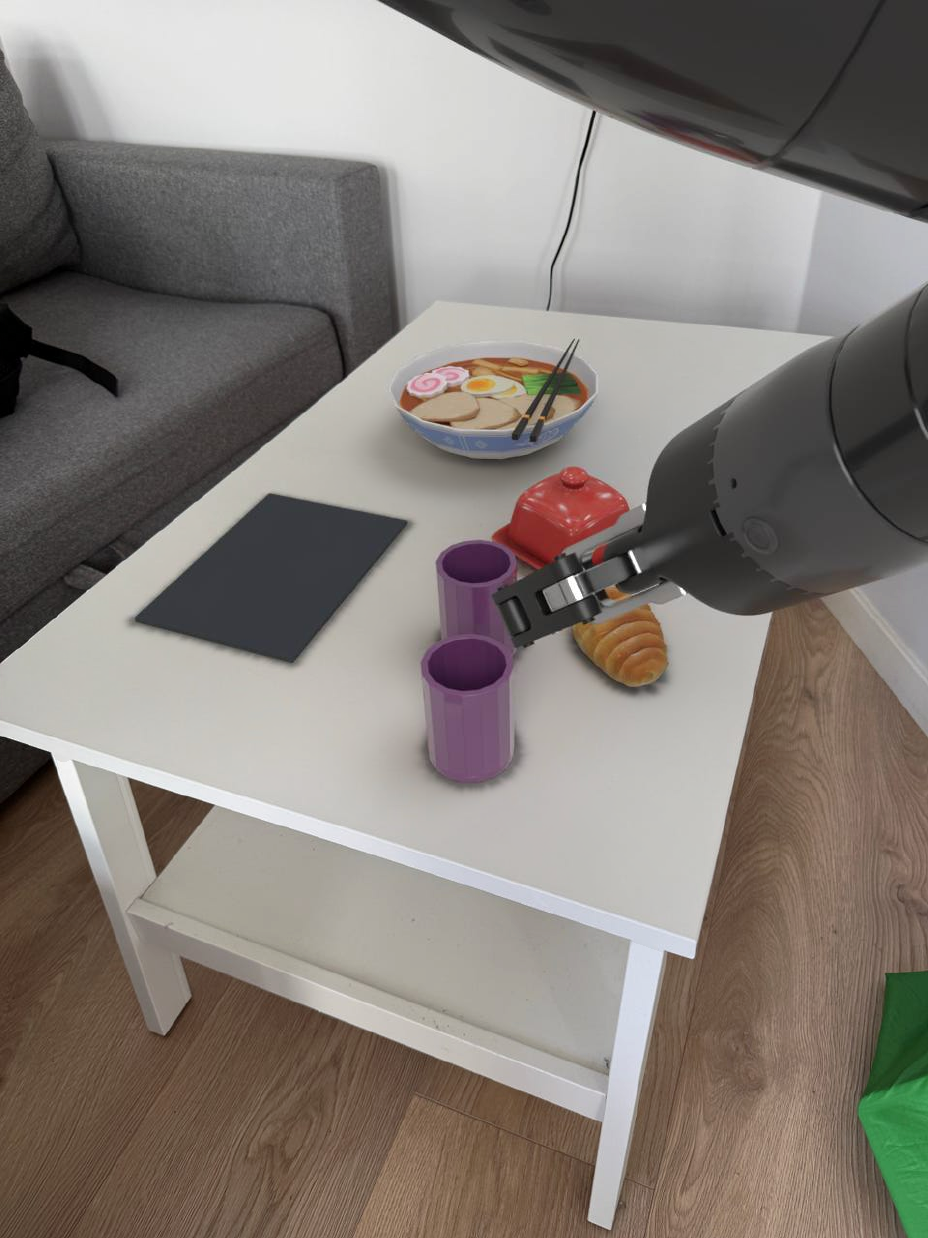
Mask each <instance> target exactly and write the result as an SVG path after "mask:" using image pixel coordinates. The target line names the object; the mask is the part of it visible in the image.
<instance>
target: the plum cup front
mask: <svg viewBox="0 0 928 1238" xmlns="http://www.w3.org/2000/svg"><path fill="white" fill-rule="evenodd" d="M420 675H421V685H422V694H423V705H424V714H425V717H424V718H425V727H426V728H425V729H426V735H427V736H426V737H427V749H428V756H429V761H430V762H431V764H432V766H433V767H434V769H435V770H436V771H437V772H438V773H440V774H441V775H442V776H443V777H445V778H447V779H450V780H453V781H456V782H461V783H480V782H481V783H482V782H484V781H488V780H491V779H493V778H495V777H498V776H499V775H500V774H501V773H503V772H504V771H505V770H507V768H508V767H509V766H510V764H511V762H512V760H513V757H514V752H515V745H516V743H515V664H514V659H513V657H512V654H511V653H510V651H509V650H508V649H507V648H506V647H505V646H504V645H503V644H502V643H500V642H498V641H496V640H494V639H492V638H490V637H488V636H482V635H476V634H463V635H455V636H451V637H448V638H445V639H443V640H441V639H440V640H438V641H436V642H435V643H433V645H431V646H430V647H429V648H428V649H426V651H425V653H424V655H423V657H422V659H421V660H420Z"/></svg>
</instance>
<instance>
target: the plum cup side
mask: <svg viewBox="0 0 928 1238" xmlns="http://www.w3.org/2000/svg"><path fill="white" fill-rule="evenodd" d="M516 557H517V556H515V554H514V553H513V552H512V551H511V550H510V549H509V548H508V547H506V546H503V545H501V544H499V543H496V542H494V541H493V540H492V541H491V540H486V539H472V540H463V541H460V542H457V543H454V544H451V545H449V546H448V547H447V548H445V549H444V550H442V551H441V552H440V553H439V555H438V557H437V558H436V560H435V573H436V587H437V599H438V614H439V615H438V616H439V627H440V640H443V639H445V638H448V637H451V636H455V635H463V634H476V635H482V636H488V637H490V638H492V639H494V640H496V641H498V642H500V643H502V644H503V645H504V646H505V647H506V648H507V649H508V650H509V651H510V653H511V654H512V658H513V657H514V656H515V654H516V652H517V649H518V647H517V648H515V649H514V646H513V644H512V642H511V640H510V638H512V637H513V636H512V637H509V636H508V633H507V631H506V629H505V627H504V624H503V622H502V620H501V618H500V615H499V613H498V611H497V606H498V605H499V604H498V605H495V604H494V602H493V600H492V597H491V595H492V594H494V593H496V592H498V590H497V588H499V587H501V586H504V585H506V584H508V585H511V584H513V583H515V582H516V581H518V561H517V558H516Z"/></svg>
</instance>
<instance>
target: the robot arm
mask: <svg viewBox="0 0 928 1238" xmlns="http://www.w3.org/2000/svg"><path fill="white" fill-rule="evenodd" d="M375 1H376V2H378V3H380V4H382V5H384V6H385V7H388V8H390V9H391V10H394V11H396V12H398V13H399V14H401V15H404V16H405V17H407V18H410V19H411V20H413V21H415V22H417V23H419V24H421V25H423V26H424V27H426V28H428V29H430V30H432V31H433V32H436V33H437V34H439V35H441V36H443V37H444V38H445V39H448V40H450V41H452V42H454V43H455V44H457V45H459V46H461V47H464V48H465V49H466V50H468V51H470V52H472V53H474V54H476V55H478V56H480V57H482V58H484V59H486V60H487V61H490V62H492V63H493V64H495V65H497V66H499V67H500V68H503V69H505V70H507V71H509V72H511V73H513V74H514V75H516V76H518V77H520V78H523V79H524V80H526V81H529V82H531V83H533V84H535V85H537V86H539V87H542V88H544V89H545V90H548V91H550V92H552V93H554V94H556V95H558V96H561V97H563V98H565V99H567V100H569V101H572V102H574V103H576V104H578V105H580V106H583V107H585V108H587V109H590V110H592V111H594V112H596V113H597V114H601V115H603V116H606V117H608V118H610V119H613V120H615V121H618V122H620V123H622V124H625V125H627V126H630V127H631V128H635V129H636V130H637V129H638V130H640V131H642V132H645V133H647V134H650V135H652V136H655V137H658V138H661V139H663V140H666V141H669V142H672V143H674V144H677V145H680V146H683V147H685V148H688V149H691V150H693V151H696V152H699V153H703V154H704V155H708V156H711V157H714V158H718V159H720V160H724V161H727V162H730V163H733V164H736V165H739V166H742V167H746V168H749V169H752V170H755V171H758V172H761V173H764V174H767V175H771V176H774V177H777V178H780V179H782V180H786V181H790V182H792V183H796V184H799V185H802V186H805V187H807V188H808V187H809V188H810V189H815V190H818V191H820V192H824V193H827V194H830V195H833V196H837V197H840V198H843V199H846V200H849V201H853V202H855V203H858V204H862V205H865V206H868V207H872V208H875V209H877V210H881V211H884V212H888V213H893V214H895V215H899V216H902V217H905V218H908V219H911V220H913V221H918V222H920V223H924V224H927V225H928V0H375ZM629 510H630V511H628V512H625V513H623V514H622V515H621V516H620V517H619V518H618V520H617V522H616V524H615V525H613V526H611V527H609V528H607V529H605V530H603V531H601V532H599V533H596V534H594V535H592V536H590V537H588V538H586V539H584V540H582V541H580V542H578V543H576V544H574V545H572V546H570V547H567V548H566V549H565V550H564V551H563V552H562V554H560V555H558V556H556V557H554V558H553V560H554V562H552V563H550V564H548V565H546V566H544V567H542V568H540V569H539V570H538V569H536V570H535V571H533V572H531V573H529V574H527V575H526V576H524V577H522V578H520V579H517V581H516V582H515V583H513V584H511V585H508V584H506V585H504V586H501V587H499V588H497V590H498V592H496V593H494V594H492V595H491V597H492V600H493V602H494V604H495V605H498V604H499V605H498V606H497V611H498V613H499V615H500V618H501V620H502V622H503V624H504V627H505V629H506V631H507V633H508V636H509V637H512V636H513V637H512V638H510V640H511V642H512V644H513V646H514V649H515V648H517V649H518V648H520V647H522V648H523V649H526V648H528V647H531V646H533V645H535V641H537V640H540V639H543V638H545V637H547V636H551V635H552V636H553V635H556V634H557V633H560V632H562V631H563V630H566V629H568V628H570V627H572V626H573V625H575V624H578V623H580V622H582V624H583V625H585V624H588V623H590V622H591V623H593V624H601V623H603V622H606V621H608V620H610V619H613V618H615V617H617V616H620V615H622V614H625V613H627V612H629V611H632V610H634V609H636V608H639V607H641V606H643V605H646V604H648V605H649V604H655V605H664V604H667V603H669V602H671V601H674V600H677V599H680V598H681V597H684V596H687V595H690V596H692V597H693V598H694V599H696V600H697V601H698V602H699V603H702V604H704V606H707V607H709V608H711V609H713V610H715V611H719V612H722V613H725V614H729V615H734V616H741V617H749V616H750V617H751V616H753V617H755V616H761V615H765V614H769V613H773V612H776V611H779V610H784V609H786V608H791V607H794V606H796V605H800V604H804V603H807V602H810V601H813V600H817V599H821V598H824V597H827V596H830V595H835V594H838V593H841V592H845V591H848V590H851V589H854V588H859V587H862V586H865V585H868V584H872V583H876V582H879V581H882V580H885V579H889V578H893V577H895V576H898V575H902V574H904V573H907V572H910V571H913V570H916V569H919V568H920V567H922V566H924V565H928V280H926V281H925V282H923V283H922V284H920V285H919V286H917V287H916V288H914V289H912V290H911V291H910V292H908V293H906V294H905V295H903V296H902V297H900V298H899V299H897V300H896V301H894V302H892V303H891V304H890V305H888V306H886V307H885V308H883V309H882V310H880V311H879V312H877V313H876V314H874V315H872V316H871V317H870V318H868V319H866V320H864V321H863V322H861V323H859V324H858V325H856V326H854V327H853V328H851V329H849V330H847V331H845V332H842V333H840V334H838V335H835V336H833V337H830V338H828V339H826V340H824V341H821V342H820V343H818V344H816V345H813V346H812V347H811V346H810V347H809V348H807V349H806V350H803V351H802V352H801V353H799V354H797V355H795V356H794V357H791V358H790V359H789V360H787V361H786V362H785V363H783V364H782V365H780V366H779V367H776V368H775V369H774V370H773V371H770V372H769V373H768V374H766V375H765V376H763V377H762V378H760V379H759V380H757V381H755V382H754V383H752V384H751V385H749V386H748V387H747V388H745V389H743V390H742V391H740V392H738V393H737V394H736V395H735V396H733V397H731V398H730V399H729V400H727V401H726V402H724V403H722V404H721V405H719V406H718V407H716V408H714V409H713V410H712V411H710V412H709V413H707V414H706V415H704V416H703V417H701V418H700V419H698V420H696V421H695V422H694V423H692V424H690V425H688V426H687V427H686V428H684V429H683V430H681V431H680V432H679V433H677V434H676V435H675V436H674V437H672V438H671V439H670V441H668V443H667V444H666V445H665V446H664V448H663V449H662V450H661V451H660V453H659V455H658V456H657V458H656V461H655V463H654V464H653V467H652V470H651V472H650V475H649V480H648V485H647V490H646V502H644V503H642V504H639V505H638V506H636V507H633V508H632V509H629ZM609 542H610V543H609ZM607 543H608V544H607ZM605 544H607V546H606V547H605V549H604V552H603V560H604V562H603V563H601V564H599V565H596V566H594V565H593V562H592V555H593V552H594V551H595V550H596V549H597V548H599V547H601V546H603V545H605ZM613 586H614V587H616V588H617V589H618V590H619V591H620V592H622V593H624V594H631V595H633V596H631V597H628V598H626V599H624V600H621V601H614V600H612V599H610V598H609V597H608V595H607V593H606V591H605V588H609V587H613Z"/></svg>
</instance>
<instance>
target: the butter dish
mask: <svg viewBox="0 0 928 1238" xmlns="http://www.w3.org/2000/svg"><path fill="white" fill-rule="evenodd" d="M630 510H631V509H630V505H629V503H628V501H627V499H626V497H624V496H623V495H622V493H620V492H619V491H618V490H617V489H616V488H614V487H612V486H611V485H609V484H608V483H606V482H604V481H603V480H600V479H599V478H596V477H595V476H592V475H590V474H589V473H588V472H587V471H586V470H585V469H583V468H582V467H579V466H567V467H565V468H563V469H562V470H561V471H560V472H559V473H556V474H553V475H550V476H548V477H545V478H543V479H542V480H540V481H538V482H536V483H535V484H532V486H530V487H529V488H527V489H526V490H525V491H524V492H523V493H522V494H520V495H519V497H518V499H517V501H516V503H515V505H514V508H513V512H512V515H511V516H512V517H511V518H510V522H509V523H507V524H505V525H504V526H502V527H501V528H499V529H498V530H496V531H495V532H493V534H492V535H491V540H492V542H496V543H499V544H501V545H503V546H506V547H508V548H509V549H510V550H511V551H512V552H513V553H514V554H515V557H517V558H519V559H520V560H521V561H523V562H525V563H527V564H528V565H530V566H531V567H533V568H534V569H536V570H539V569H540V568H542V567H544V566H546V565H548V564H550V563H552V562H554V560H553V558H554V557H556V556H558V555H560V554H562V552H563V551H564V550H565V549H566V548H567V547H570V546H572V545H574V544H576V543H578V542H580V541H582V540H584V539H586V538H588V537H590V536H592V535H594V534H596V533H599V532H601V531H603V530H605V529H607V528H609V527H611V526H613V525H615V524H616V522H617V520H618V518H619V517H620V516H621V515H622V514H623V513H625V512H628V511H630ZM609 543H610V542H609ZM607 544H608V543H607ZM607 544H605V545H603V546H601V547H599V548H597V549H596V550H595V551H594V552H593V555H592V562H593V565H594V566H596V565H599V564H601V563H603V562H604V560H603V552H604V549H605V547H606V546H607Z"/></svg>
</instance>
